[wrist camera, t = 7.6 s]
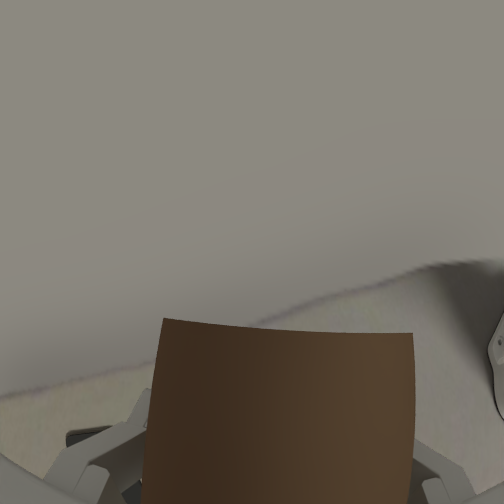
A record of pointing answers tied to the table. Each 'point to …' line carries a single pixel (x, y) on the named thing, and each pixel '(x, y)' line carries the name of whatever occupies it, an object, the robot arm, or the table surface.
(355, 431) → the walnut post
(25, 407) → the table surface
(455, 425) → the table surface
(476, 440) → the table surface
